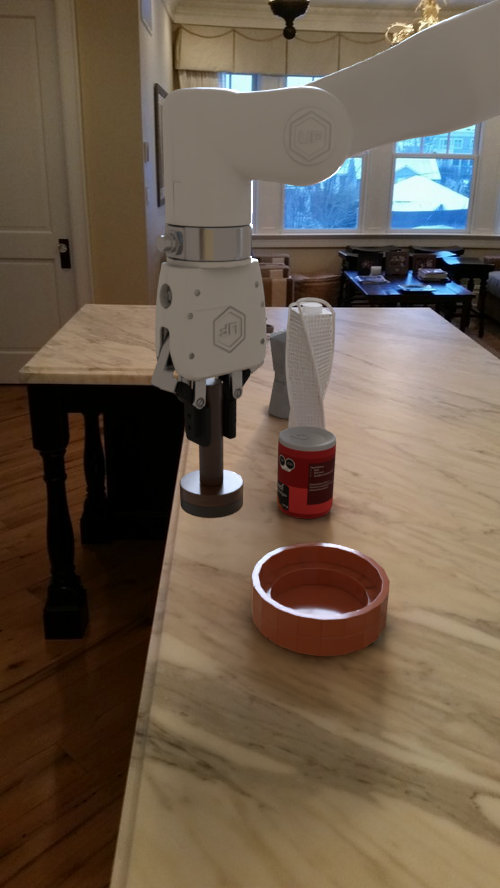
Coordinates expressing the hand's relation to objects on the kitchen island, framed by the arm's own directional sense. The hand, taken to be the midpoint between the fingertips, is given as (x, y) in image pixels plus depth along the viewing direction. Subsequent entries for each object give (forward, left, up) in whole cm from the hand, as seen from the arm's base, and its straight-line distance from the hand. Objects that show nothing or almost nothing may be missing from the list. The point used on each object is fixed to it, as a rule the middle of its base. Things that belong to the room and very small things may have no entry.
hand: (211, 437), depth 69 cm
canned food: (-26, -11, -21) cm, 35 cm away
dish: (-83, -95, -21) cm, 128 cm away
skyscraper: (-35, -20, -21) cm, 46 cm away
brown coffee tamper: (0, 0, -7) cm, 7 cm away
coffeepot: (-52, -40, -21) cm, 69 cm away
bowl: (-9, +8, -21) cm, 24 cm away
